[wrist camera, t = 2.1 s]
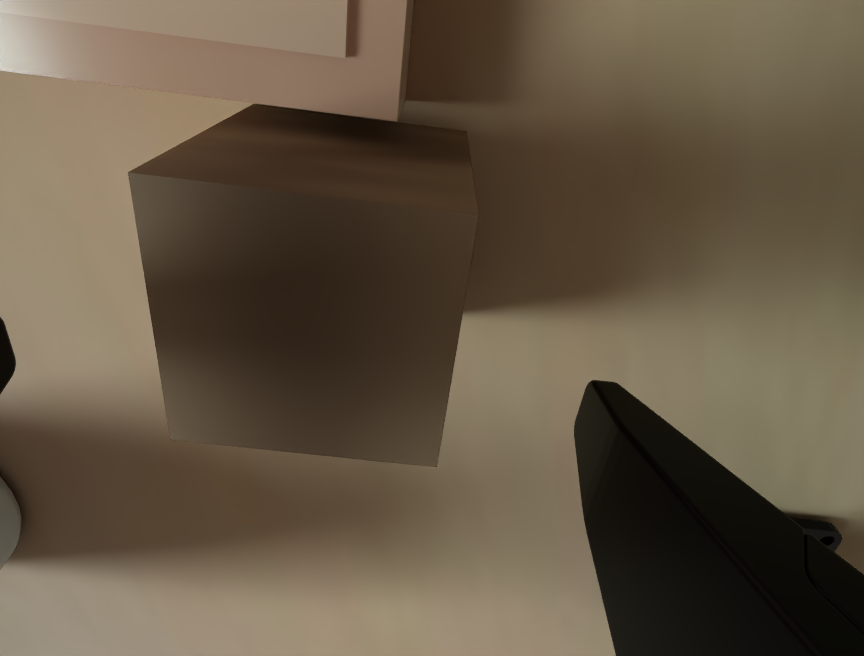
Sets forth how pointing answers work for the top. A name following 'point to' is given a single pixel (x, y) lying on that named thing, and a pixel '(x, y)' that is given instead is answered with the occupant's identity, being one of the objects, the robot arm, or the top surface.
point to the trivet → (222, 49)
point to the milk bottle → (8, 523)
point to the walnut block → (308, 281)
